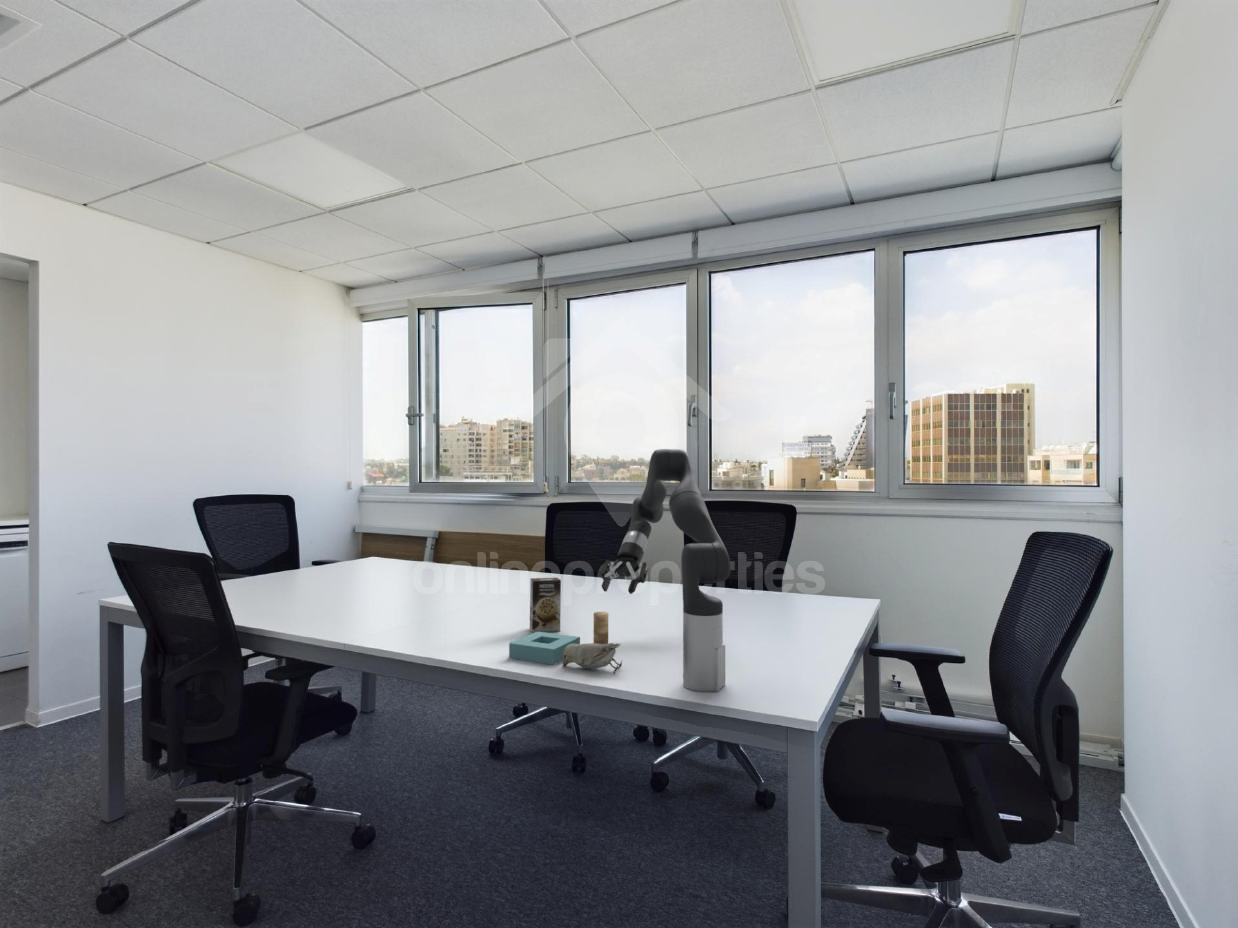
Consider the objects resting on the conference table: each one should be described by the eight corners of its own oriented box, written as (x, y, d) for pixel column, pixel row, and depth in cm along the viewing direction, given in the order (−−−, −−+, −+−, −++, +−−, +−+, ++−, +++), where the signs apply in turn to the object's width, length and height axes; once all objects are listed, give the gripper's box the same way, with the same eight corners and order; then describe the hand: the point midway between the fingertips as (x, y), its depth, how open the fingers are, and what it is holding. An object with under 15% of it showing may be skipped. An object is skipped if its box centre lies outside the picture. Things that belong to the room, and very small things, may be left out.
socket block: (580, 651, 181) (580, 636, 181) (553, 664, 168) (553, 649, 168) (537, 645, 187) (537, 631, 187) (509, 657, 174) (509, 642, 174)
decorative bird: (567, 663, 170) (567, 634, 170) (624, 670, 164) (625, 640, 165) (558, 669, 165) (558, 639, 165) (617, 676, 159) (617, 646, 159)
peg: (610, 647, 185) (610, 612, 185) (604, 651, 181) (604, 615, 181) (597, 645, 186) (597, 611, 186) (590, 649, 183) (591, 614, 183)
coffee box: (532, 633, 201) (532, 581, 201) (529, 628, 207) (529, 577, 208) (561, 631, 204) (561, 579, 204) (557, 626, 210) (557, 576, 210)
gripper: (608, 539, 204) (591, 581, 194) (650, 542, 198) (635, 585, 188) (616, 554, 209) (599, 596, 198) (657, 557, 203) (642, 600, 192)
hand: (617, 591), depth 193 cm, fingers open, 8 cm apart
